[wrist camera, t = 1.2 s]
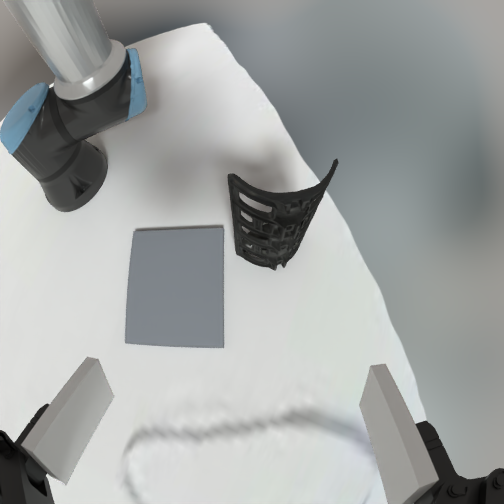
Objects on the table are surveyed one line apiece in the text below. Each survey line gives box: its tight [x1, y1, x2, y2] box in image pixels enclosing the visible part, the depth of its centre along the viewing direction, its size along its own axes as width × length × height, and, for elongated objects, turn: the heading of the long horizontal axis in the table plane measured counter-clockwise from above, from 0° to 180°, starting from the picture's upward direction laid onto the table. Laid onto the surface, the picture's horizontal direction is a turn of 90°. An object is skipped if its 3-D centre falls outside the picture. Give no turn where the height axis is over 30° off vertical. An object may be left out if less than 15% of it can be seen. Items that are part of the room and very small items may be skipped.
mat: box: [125, 228, 224, 348], centre depth 40 cm, size 18×15×1 cm
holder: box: [228, 159, 338, 270], centre depth 34 cm, size 11×8×20 cm
